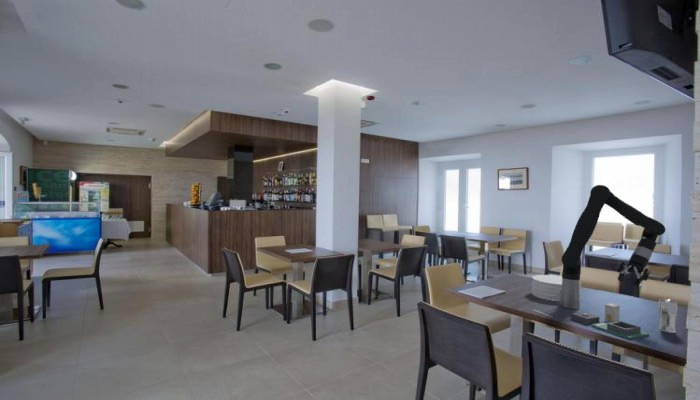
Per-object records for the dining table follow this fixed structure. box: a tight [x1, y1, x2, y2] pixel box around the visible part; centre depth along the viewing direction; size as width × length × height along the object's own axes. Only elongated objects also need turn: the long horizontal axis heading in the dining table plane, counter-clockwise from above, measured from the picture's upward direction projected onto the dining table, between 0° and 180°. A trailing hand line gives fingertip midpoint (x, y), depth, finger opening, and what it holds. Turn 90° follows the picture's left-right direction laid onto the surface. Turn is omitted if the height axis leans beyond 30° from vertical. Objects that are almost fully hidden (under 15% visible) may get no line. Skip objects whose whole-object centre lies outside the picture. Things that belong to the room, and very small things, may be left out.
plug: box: [604, 303, 620, 322], centre depth 190 cm, size 4×5×9 cm
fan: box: [570, 311, 600, 326], centre depth 191 cm, size 9×9×4 cm
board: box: [590, 320, 650, 340], centre depth 177 cm, size 18×14×4 cm
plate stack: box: [531, 274, 582, 303], centre depth 238 cm, size 28×28×12 cm
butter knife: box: [533, 309, 553, 318], centre depth 197 cm, size 1×27×3 cm
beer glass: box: [658, 298, 678, 334], centre depth 178 cm, size 7×7×15 cm
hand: (627, 283), depth 193 cm, fingers open, 8 cm apart
